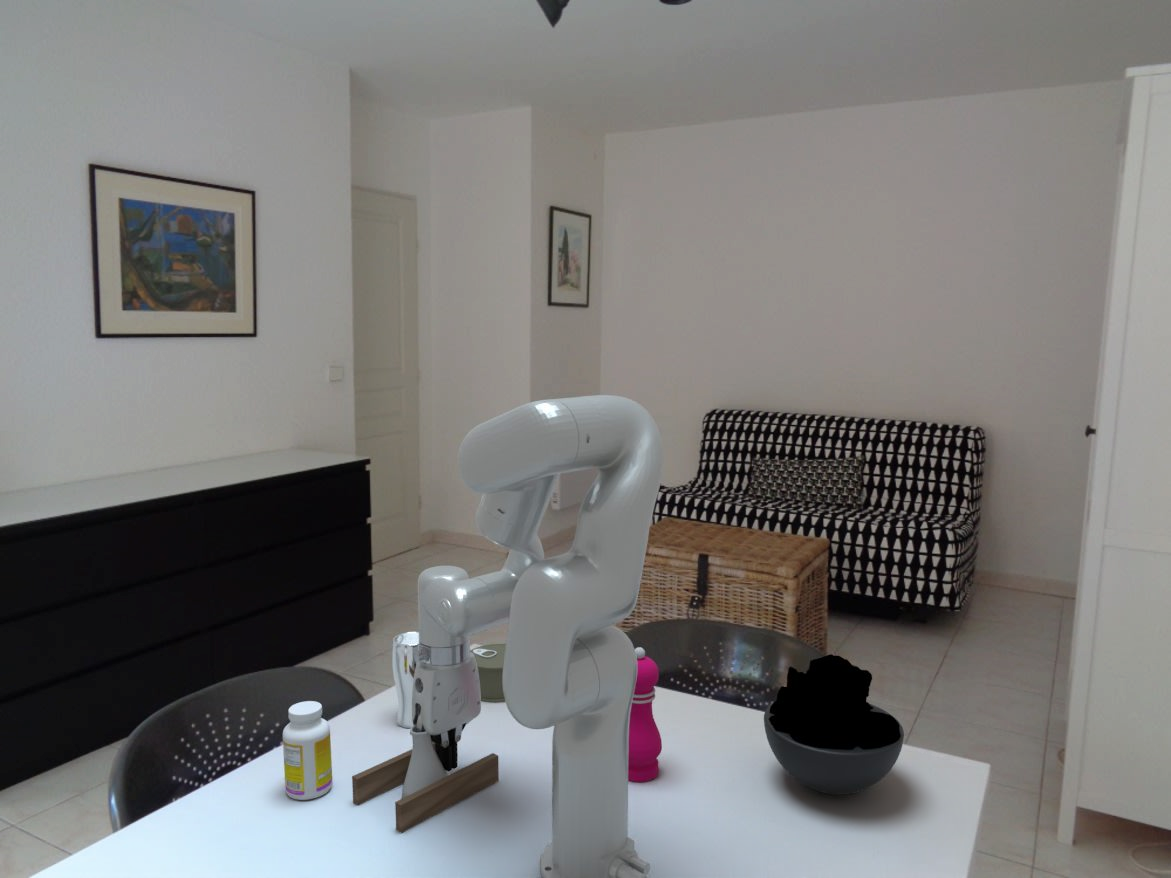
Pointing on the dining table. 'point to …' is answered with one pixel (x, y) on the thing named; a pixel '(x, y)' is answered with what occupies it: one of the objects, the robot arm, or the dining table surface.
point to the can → (490, 671)
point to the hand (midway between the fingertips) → (446, 766)
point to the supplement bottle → (307, 752)
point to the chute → (429, 797)
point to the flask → (422, 764)
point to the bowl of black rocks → (832, 728)
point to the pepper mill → (643, 723)
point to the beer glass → (404, 674)
